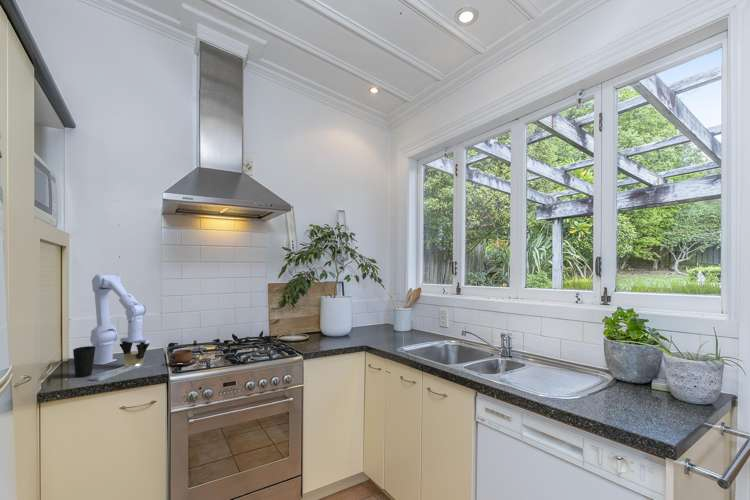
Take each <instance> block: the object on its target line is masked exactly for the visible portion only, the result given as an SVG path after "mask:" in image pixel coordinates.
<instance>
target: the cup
mask: <svg viewBox="0 0 750 500" xmlns="http://www.w3.org/2000/svg"><path fill="white" fill-rule="evenodd" d="M95 348H96V347H94V346H92V345H88V346H80V347H76V348H74V349H72V353H73V354H72V355H73V364H74V367H73V368H74V377H75V378H78V379H80V378H85V377H86V378H87V377H91V376H92V374H93V367H94V364H93V362H94V355H95Z"/></svg>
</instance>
